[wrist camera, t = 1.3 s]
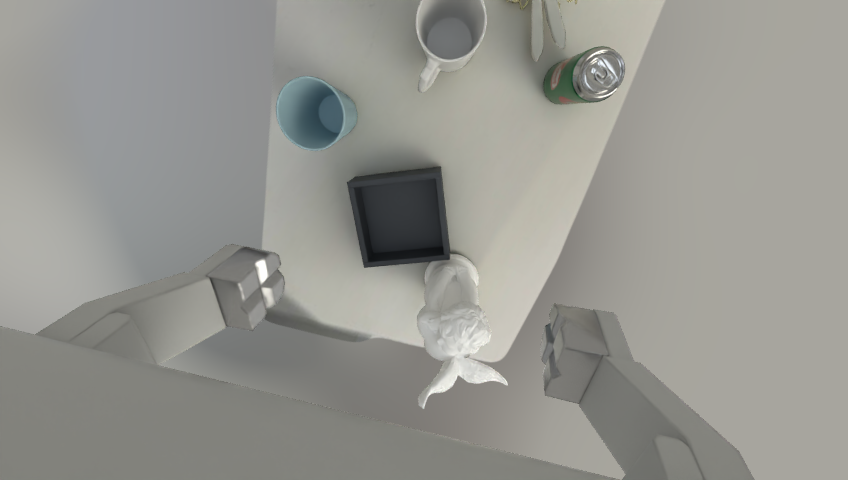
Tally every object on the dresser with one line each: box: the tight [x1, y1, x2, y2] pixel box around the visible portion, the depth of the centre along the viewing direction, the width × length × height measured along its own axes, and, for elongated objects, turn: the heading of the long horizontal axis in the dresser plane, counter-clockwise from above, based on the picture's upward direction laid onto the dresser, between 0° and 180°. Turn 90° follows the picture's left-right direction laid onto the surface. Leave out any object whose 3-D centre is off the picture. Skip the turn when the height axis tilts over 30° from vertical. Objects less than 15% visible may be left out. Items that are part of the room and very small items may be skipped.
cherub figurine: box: [417, 253, 508, 409], centre depth 45 cm, size 12×12×22 cm
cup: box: [276, 76, 357, 151], centre depth 43 cm, size 8×8×10 cm
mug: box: [415, 0, 487, 93], centre depth 39 cm, size 10×7×12 cm, turn 150°
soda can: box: [543, 46, 625, 105], centre depth 39 cm, size 5×5×12 cm
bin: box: [347, 167, 450, 268], centre depth 50 cm, size 13×13×4 cm
